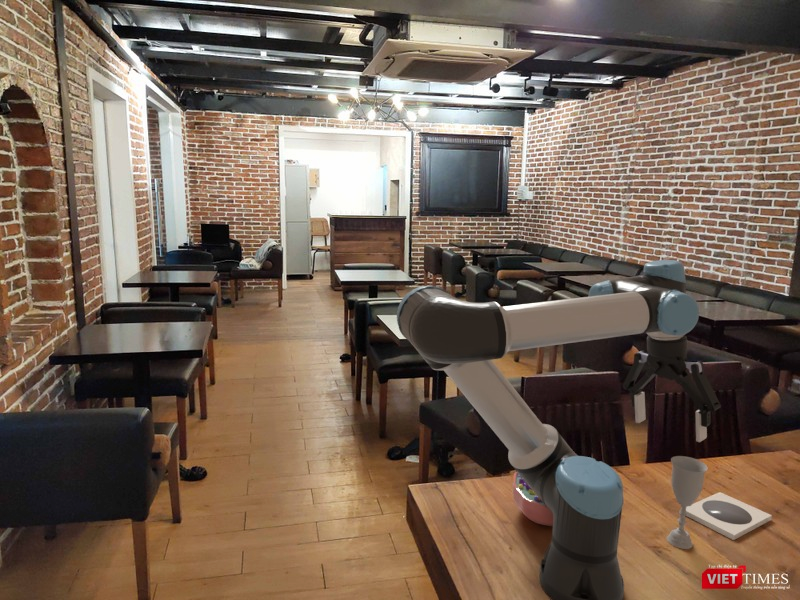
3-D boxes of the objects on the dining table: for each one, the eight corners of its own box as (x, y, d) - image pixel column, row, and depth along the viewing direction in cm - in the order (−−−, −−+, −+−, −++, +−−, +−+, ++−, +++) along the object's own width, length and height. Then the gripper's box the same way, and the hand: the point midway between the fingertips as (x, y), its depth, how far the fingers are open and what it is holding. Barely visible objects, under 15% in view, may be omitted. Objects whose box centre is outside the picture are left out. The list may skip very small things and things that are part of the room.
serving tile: (733, 540, 120) (734, 534, 120) (681, 513, 130) (681, 508, 130) (771, 520, 128) (771, 514, 128) (719, 496, 138) (719, 491, 138)
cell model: (498, 528, 122) (501, 480, 120) (522, 488, 140) (525, 446, 138) (577, 551, 115) (581, 501, 113) (592, 506, 132) (596, 462, 130)
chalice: (704, 552, 115) (714, 472, 112) (671, 551, 115) (681, 471, 112) (687, 532, 122) (696, 456, 119) (656, 531, 122) (664, 455, 119)
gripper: (739, 339, 106) (740, 441, 110) (623, 322, 126) (628, 408, 131) (719, 350, 102) (720, 455, 106) (603, 330, 122) (608, 419, 127)
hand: (669, 429), depth 118 cm, fingers open, 13 cm apart
